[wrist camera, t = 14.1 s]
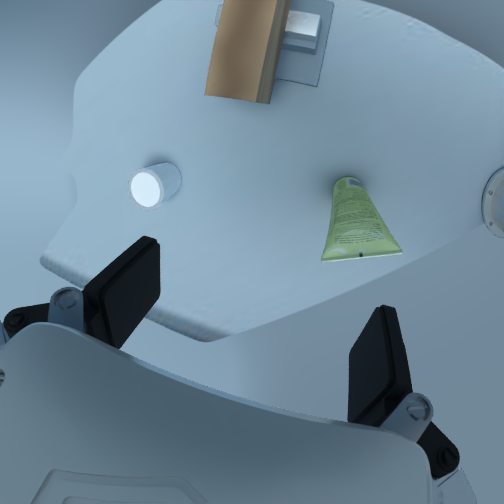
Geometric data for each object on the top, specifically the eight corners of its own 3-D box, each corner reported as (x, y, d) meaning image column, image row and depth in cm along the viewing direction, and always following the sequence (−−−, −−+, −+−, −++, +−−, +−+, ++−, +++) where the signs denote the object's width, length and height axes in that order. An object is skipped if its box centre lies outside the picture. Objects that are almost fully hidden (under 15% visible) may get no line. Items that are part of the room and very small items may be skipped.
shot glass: (178, 203, 47) (157, 218, 41) (146, 187, 47) (123, 200, 41) (189, 167, 44) (168, 178, 38) (156, 152, 44) (131, 161, 38)
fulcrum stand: (333, 5, 26) (335, -18, 19) (316, 87, 33) (315, 80, 26) (238, -7, 28) (219, -28, 20) (221, 70, 35) (198, 63, 27)
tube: (347, 217, 41) (360, 293, 25) (322, 196, 41) (320, 262, 24) (371, 190, 38) (404, 253, 22) (346, 168, 38) (364, 216, 21)
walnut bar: (301, -46, 17) (295, -74, 11) (269, 104, 28) (255, 102, 23) (261, -49, 18) (246, -75, 12) (227, 97, 29) (204, 94, 23)
